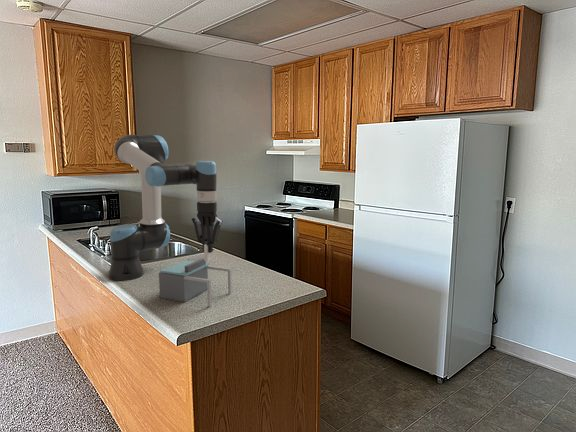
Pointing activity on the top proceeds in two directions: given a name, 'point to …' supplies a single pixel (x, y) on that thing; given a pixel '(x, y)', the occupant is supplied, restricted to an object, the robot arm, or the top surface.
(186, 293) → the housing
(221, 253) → the top surface
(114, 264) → the robot arm
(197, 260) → the electrical switch
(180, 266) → the lid
